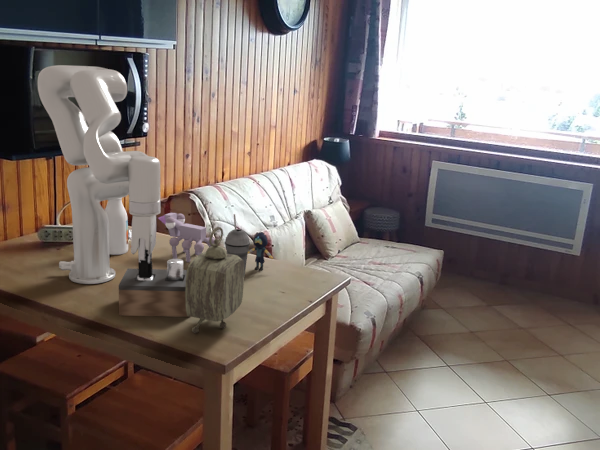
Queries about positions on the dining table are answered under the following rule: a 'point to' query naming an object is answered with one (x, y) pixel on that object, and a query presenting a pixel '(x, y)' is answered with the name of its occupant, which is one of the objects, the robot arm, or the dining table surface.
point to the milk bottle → (117, 227)
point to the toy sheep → (185, 234)
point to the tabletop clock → (214, 284)
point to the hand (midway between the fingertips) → (145, 276)
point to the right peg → (175, 270)
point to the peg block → (152, 295)
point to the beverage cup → (237, 243)
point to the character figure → (260, 250)
